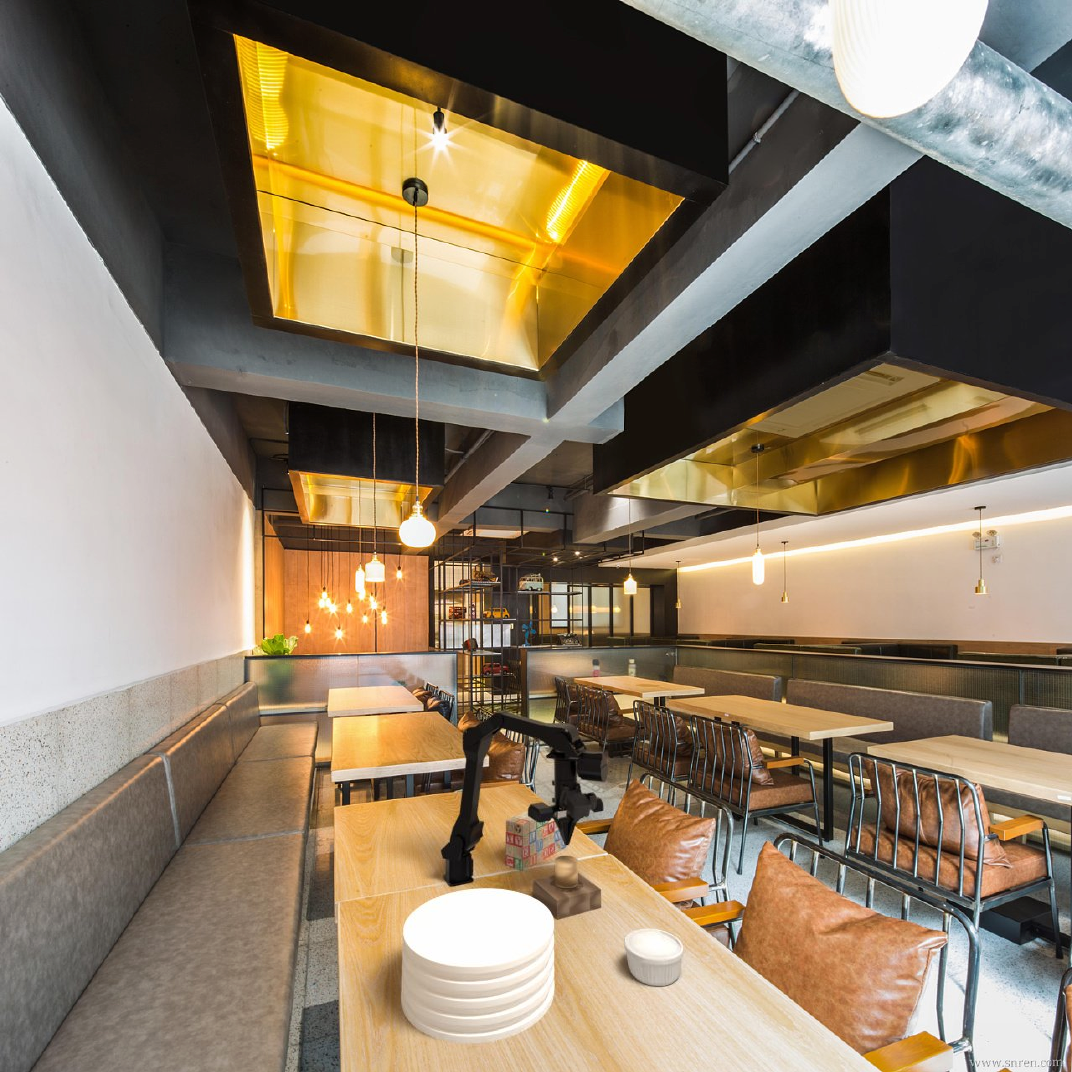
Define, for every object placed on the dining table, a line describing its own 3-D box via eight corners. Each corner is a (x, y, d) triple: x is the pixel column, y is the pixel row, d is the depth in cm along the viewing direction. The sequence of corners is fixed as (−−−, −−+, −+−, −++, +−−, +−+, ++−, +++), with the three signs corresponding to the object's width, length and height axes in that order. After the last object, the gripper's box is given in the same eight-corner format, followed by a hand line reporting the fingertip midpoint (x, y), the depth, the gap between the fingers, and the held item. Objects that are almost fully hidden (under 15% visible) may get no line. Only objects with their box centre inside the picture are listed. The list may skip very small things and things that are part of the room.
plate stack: (478, 932, 126) (479, 876, 127) (584, 982, 108) (583, 916, 110) (369, 997, 104) (371, 928, 106) (478, 1072, 87) (479, 988, 89)
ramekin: (696, 976, 110) (695, 946, 111) (655, 998, 103) (654, 966, 104) (653, 949, 119) (652, 922, 120) (613, 968, 112) (612, 939, 113)
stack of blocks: (550, 842, 177) (549, 800, 179) (566, 847, 173) (566, 804, 175) (505, 866, 160) (505, 819, 162) (522, 872, 156) (522, 823, 158)
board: (557, 919, 131) (556, 900, 131) (533, 897, 141) (533, 879, 142) (601, 907, 136) (600, 889, 137) (575, 887, 147) (574, 870, 147)
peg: (562, 908, 135) (561, 866, 136) (550, 897, 140) (550, 858, 141) (582, 902, 138) (582, 862, 139) (570, 892, 143) (570, 853, 144)
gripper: (548, 791, 132) (548, 864, 130) (615, 780, 140) (617, 849, 138) (526, 779, 142) (527, 847, 139) (590, 770, 150) (592, 834, 148)
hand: (566, 844), depth 141 cm, fingers closed
